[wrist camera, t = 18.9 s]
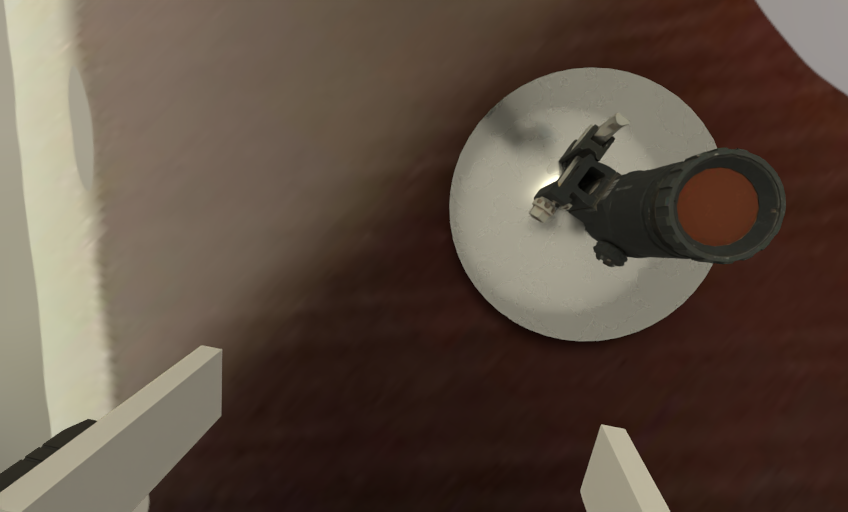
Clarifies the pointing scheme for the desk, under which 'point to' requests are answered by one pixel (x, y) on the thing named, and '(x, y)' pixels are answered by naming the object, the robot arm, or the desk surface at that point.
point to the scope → (667, 202)
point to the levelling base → (563, 233)
